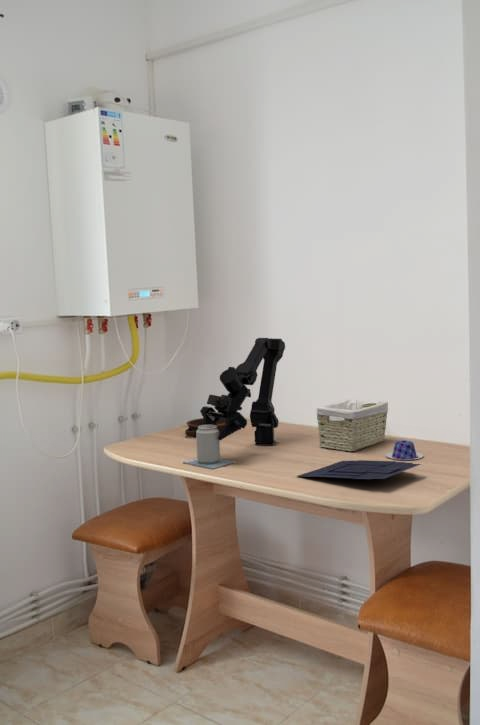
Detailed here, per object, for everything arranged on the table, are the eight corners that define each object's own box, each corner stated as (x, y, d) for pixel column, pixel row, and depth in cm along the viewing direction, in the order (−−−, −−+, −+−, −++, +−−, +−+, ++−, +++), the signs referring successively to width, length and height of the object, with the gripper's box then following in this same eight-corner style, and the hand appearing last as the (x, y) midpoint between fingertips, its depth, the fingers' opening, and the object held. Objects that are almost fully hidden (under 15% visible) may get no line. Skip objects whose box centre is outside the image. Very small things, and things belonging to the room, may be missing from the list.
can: (217, 464, 246) (216, 428, 245) (194, 464, 248) (193, 428, 247) (222, 459, 254) (221, 423, 252) (200, 458, 255) (199, 423, 254)
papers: (381, 490, 209) (379, 477, 209) (296, 485, 230) (295, 473, 230) (426, 471, 227) (424, 459, 227) (344, 468, 248) (342, 457, 248)
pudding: (430, 459, 247) (430, 443, 246) (396, 463, 244) (396, 447, 243) (411, 451, 258) (411, 436, 258) (379, 455, 255) (379, 440, 254)
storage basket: (352, 436, 285) (351, 397, 284) (390, 441, 275) (390, 400, 273) (315, 448, 268) (314, 406, 266) (354, 454, 257) (353, 411, 255)
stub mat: (234, 463, 250) (234, 461, 250) (213, 469, 242) (213, 467, 242) (204, 457, 259) (204, 455, 259) (182, 463, 252) (182, 461, 252)
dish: (245, 432, 300) (244, 419, 299) (203, 441, 285) (202, 428, 284) (215, 426, 313) (215, 414, 312) (173, 435, 297) (172, 423, 297)
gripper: (203, 382, 259) (178, 419, 253) (238, 387, 245) (213, 427, 239) (222, 402, 265) (198, 438, 259) (258, 408, 251) (233, 447, 245)
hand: (210, 437), depth 251 cm, fingers open, 9 cm apart
